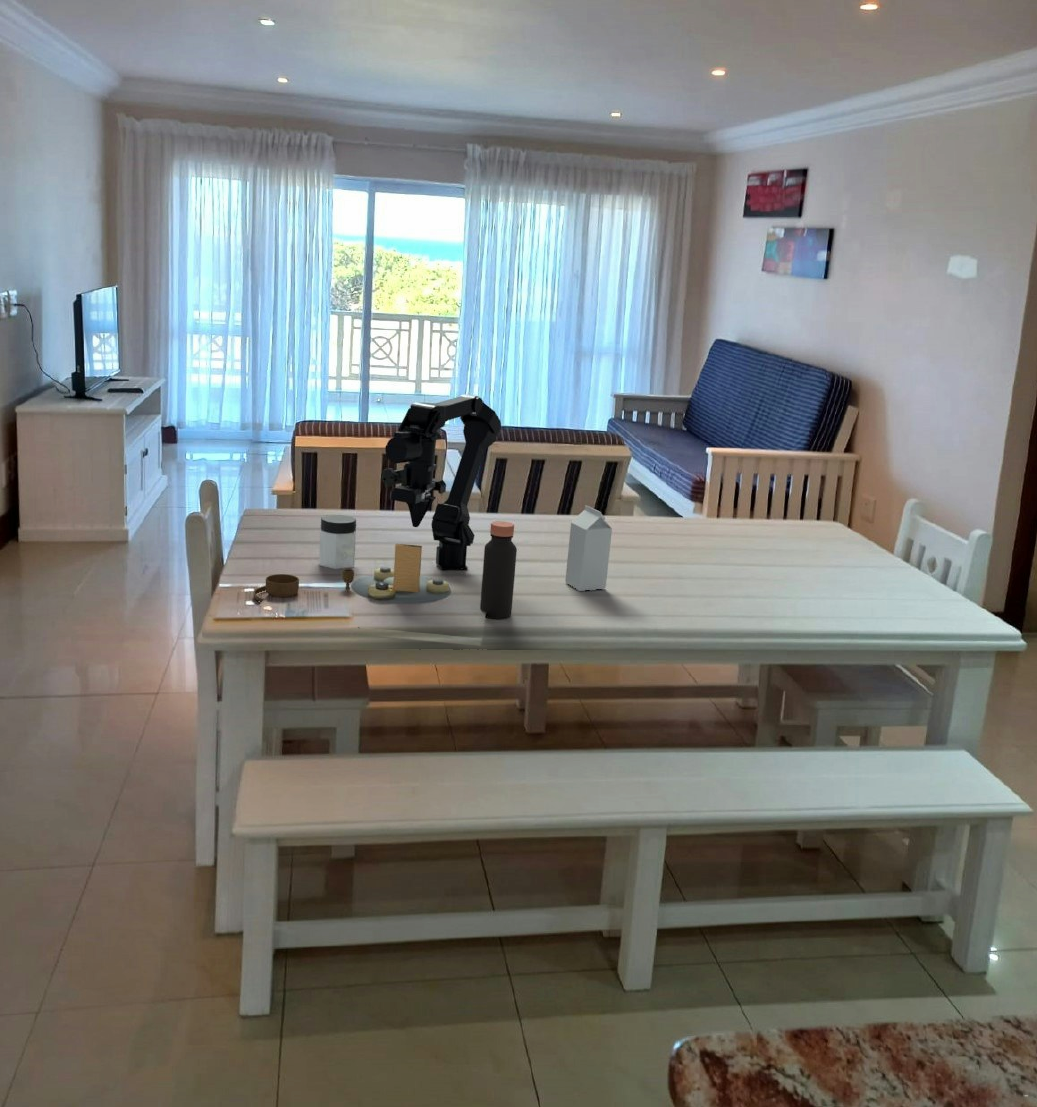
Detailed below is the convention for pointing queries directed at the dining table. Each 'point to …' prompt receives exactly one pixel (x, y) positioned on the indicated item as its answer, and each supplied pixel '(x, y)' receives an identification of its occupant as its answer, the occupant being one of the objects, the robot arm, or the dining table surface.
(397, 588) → the wooden slab
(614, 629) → the dining table surface
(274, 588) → the place setting
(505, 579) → the bottle
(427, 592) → the plate
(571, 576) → the milk carton
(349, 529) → the jar
